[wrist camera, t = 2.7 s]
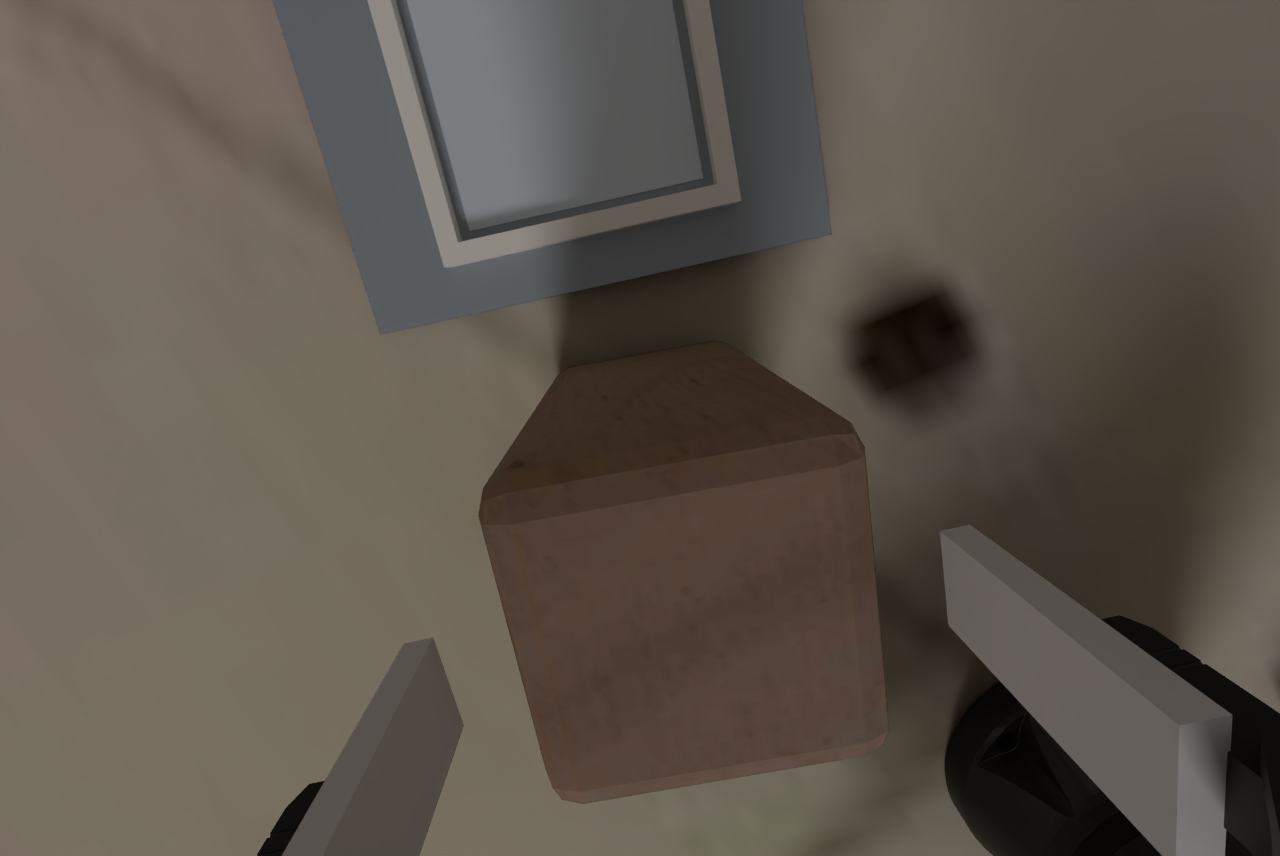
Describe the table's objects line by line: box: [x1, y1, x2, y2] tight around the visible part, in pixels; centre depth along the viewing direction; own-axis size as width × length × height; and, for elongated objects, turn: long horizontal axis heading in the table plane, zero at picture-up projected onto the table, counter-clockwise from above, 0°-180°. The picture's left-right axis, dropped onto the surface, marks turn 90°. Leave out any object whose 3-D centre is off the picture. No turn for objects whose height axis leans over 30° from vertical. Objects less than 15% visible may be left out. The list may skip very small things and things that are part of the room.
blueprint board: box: [273, 0, 832, 335], centre depth 29 cm, size 24×20×2 cm
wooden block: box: [479, 341, 888, 804], centre depth 25 cm, size 10×10×20 cm
